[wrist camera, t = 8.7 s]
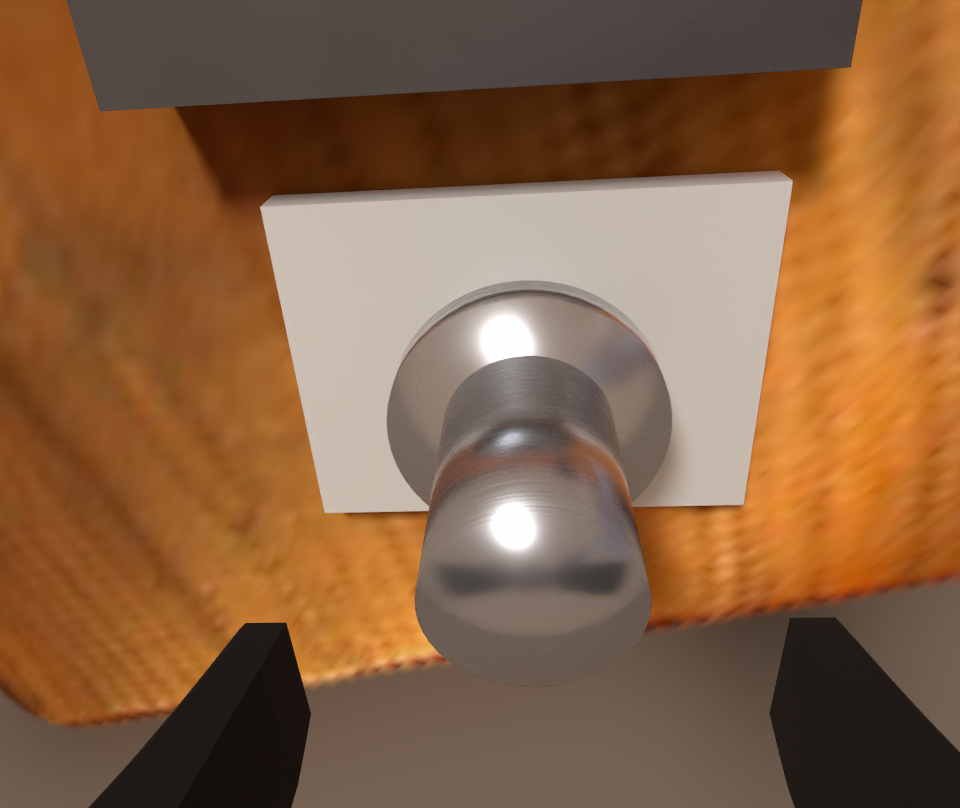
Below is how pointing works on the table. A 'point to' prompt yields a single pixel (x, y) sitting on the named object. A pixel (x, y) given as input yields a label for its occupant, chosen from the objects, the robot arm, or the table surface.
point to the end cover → (530, 478)
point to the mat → (535, 257)
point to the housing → (437, 45)
